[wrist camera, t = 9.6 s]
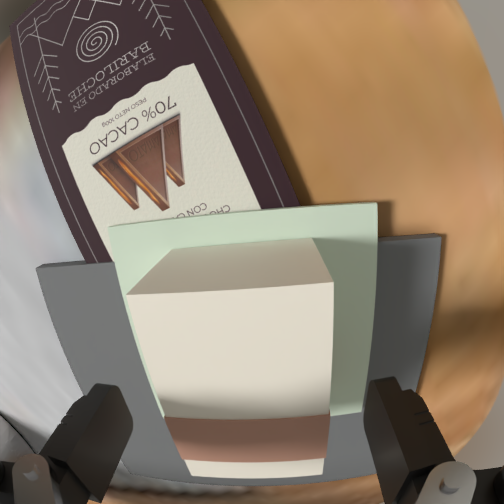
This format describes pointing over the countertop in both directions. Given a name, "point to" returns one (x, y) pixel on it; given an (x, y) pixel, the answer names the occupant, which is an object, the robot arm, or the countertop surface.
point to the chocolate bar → (141, 116)
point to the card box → (241, 355)
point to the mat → (344, 321)
